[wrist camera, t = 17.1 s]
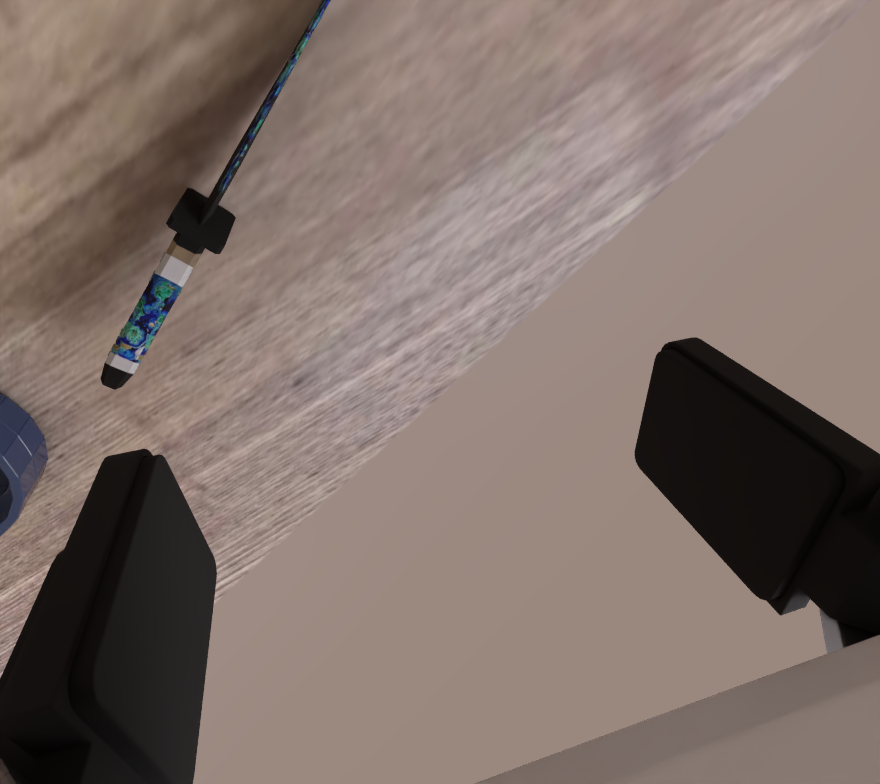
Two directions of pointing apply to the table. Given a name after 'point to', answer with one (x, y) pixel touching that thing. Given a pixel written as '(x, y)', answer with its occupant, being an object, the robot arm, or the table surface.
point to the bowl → (18, 460)
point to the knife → (189, 243)
